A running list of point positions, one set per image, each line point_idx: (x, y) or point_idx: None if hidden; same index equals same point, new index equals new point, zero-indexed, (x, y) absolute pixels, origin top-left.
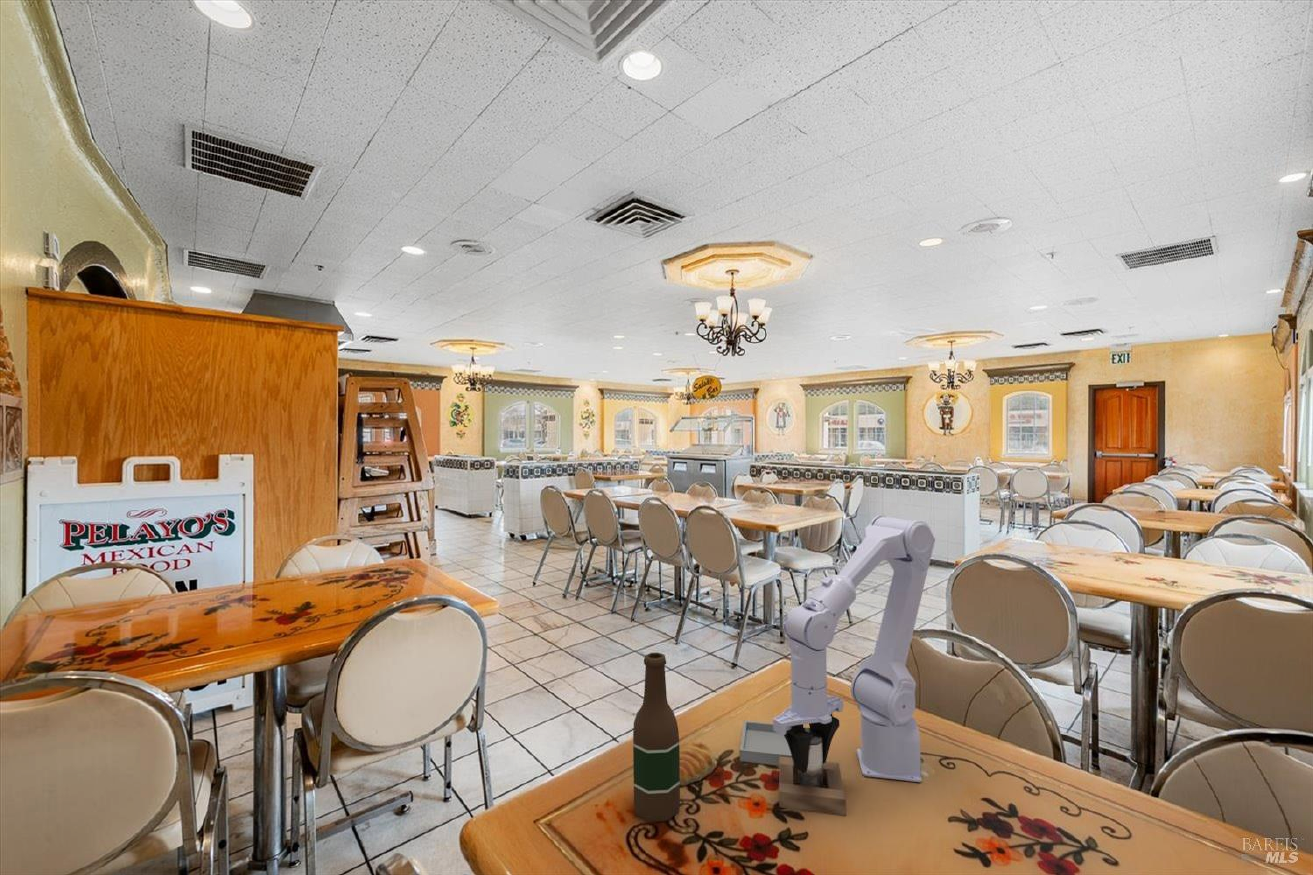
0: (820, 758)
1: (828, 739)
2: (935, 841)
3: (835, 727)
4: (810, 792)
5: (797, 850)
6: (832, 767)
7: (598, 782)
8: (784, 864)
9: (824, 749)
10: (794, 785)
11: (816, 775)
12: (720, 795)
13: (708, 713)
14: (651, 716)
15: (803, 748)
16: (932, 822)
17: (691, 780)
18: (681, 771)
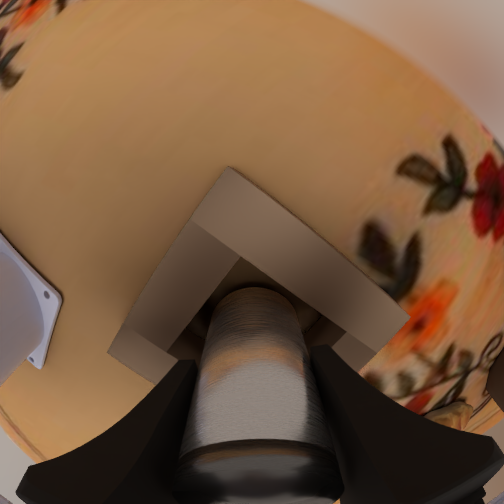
0: (236, 368)
1: (139, 438)
2: (96, 16)
3: (59, 480)
4: (329, 269)
5: (451, 137)
6: (140, 346)
7: (499, 412)
8: (485, 128)
9: (174, 403)
10: (348, 325)
11: (267, 320)
12: (444, 369)
13: None
14: None
15: (419, 416)
16: (46, 73)
17: (452, 407)
18: (467, 419)
